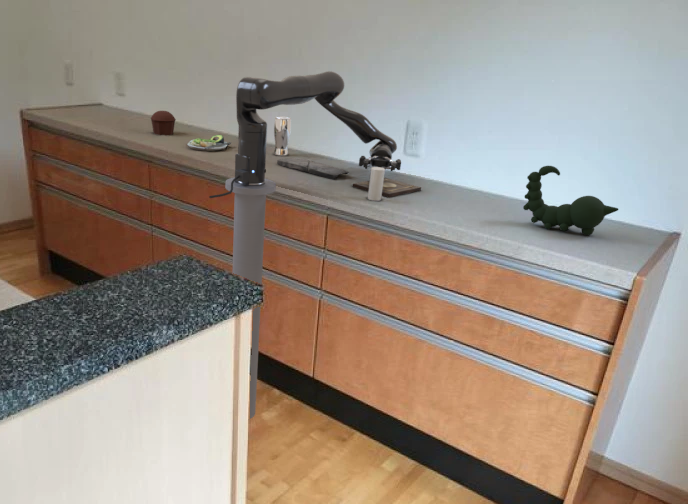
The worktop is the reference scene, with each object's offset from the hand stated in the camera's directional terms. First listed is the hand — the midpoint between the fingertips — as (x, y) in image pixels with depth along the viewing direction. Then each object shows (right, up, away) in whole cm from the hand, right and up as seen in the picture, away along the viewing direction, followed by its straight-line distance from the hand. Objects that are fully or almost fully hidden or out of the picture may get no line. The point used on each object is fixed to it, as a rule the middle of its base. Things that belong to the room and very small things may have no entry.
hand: (379, 167), depth 203 cm
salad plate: (-64, +20, +56) cm, 88 cm away
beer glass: (-34, +16, +51) cm, 64 cm away
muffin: (-89, +33, +79) cm, 123 cm away
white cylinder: (-2, -12, -6) cm, 13 cm away
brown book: (+4, -6, +8) cm, 11 cm away
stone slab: (-21, +5, +27) cm, 35 cm away
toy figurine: (+50, -24, -24) cm, 61 cm away
